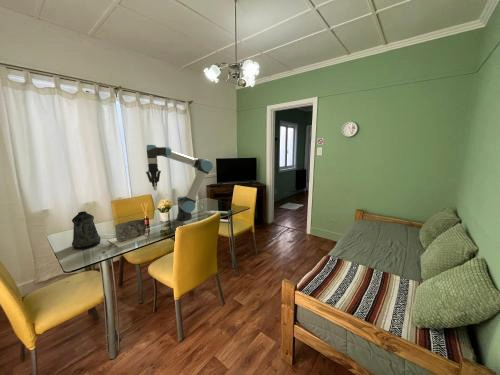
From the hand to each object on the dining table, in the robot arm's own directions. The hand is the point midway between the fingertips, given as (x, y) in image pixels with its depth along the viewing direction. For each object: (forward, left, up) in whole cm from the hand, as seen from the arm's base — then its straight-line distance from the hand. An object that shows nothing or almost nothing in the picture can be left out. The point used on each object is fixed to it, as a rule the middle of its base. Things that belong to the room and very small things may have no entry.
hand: (155, 190), depth 182 cm
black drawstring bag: (+51, -6, -34) cm, 61 cm away
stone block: (+15, +6, -27) cm, 32 cm away
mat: (+28, +6, -34) cm, 44 cm away
